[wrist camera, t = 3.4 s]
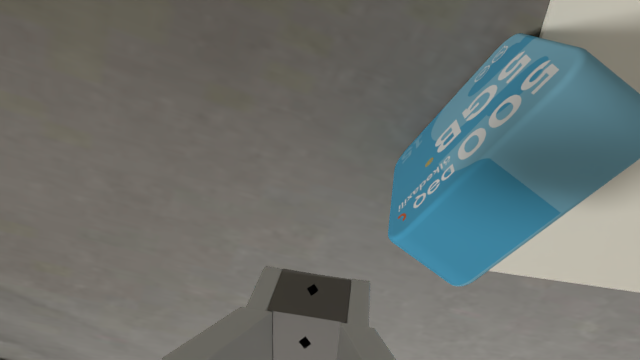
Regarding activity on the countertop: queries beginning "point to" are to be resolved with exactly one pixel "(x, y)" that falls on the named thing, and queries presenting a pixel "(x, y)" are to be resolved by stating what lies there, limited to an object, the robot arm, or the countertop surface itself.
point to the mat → (615, 196)
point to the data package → (511, 156)
